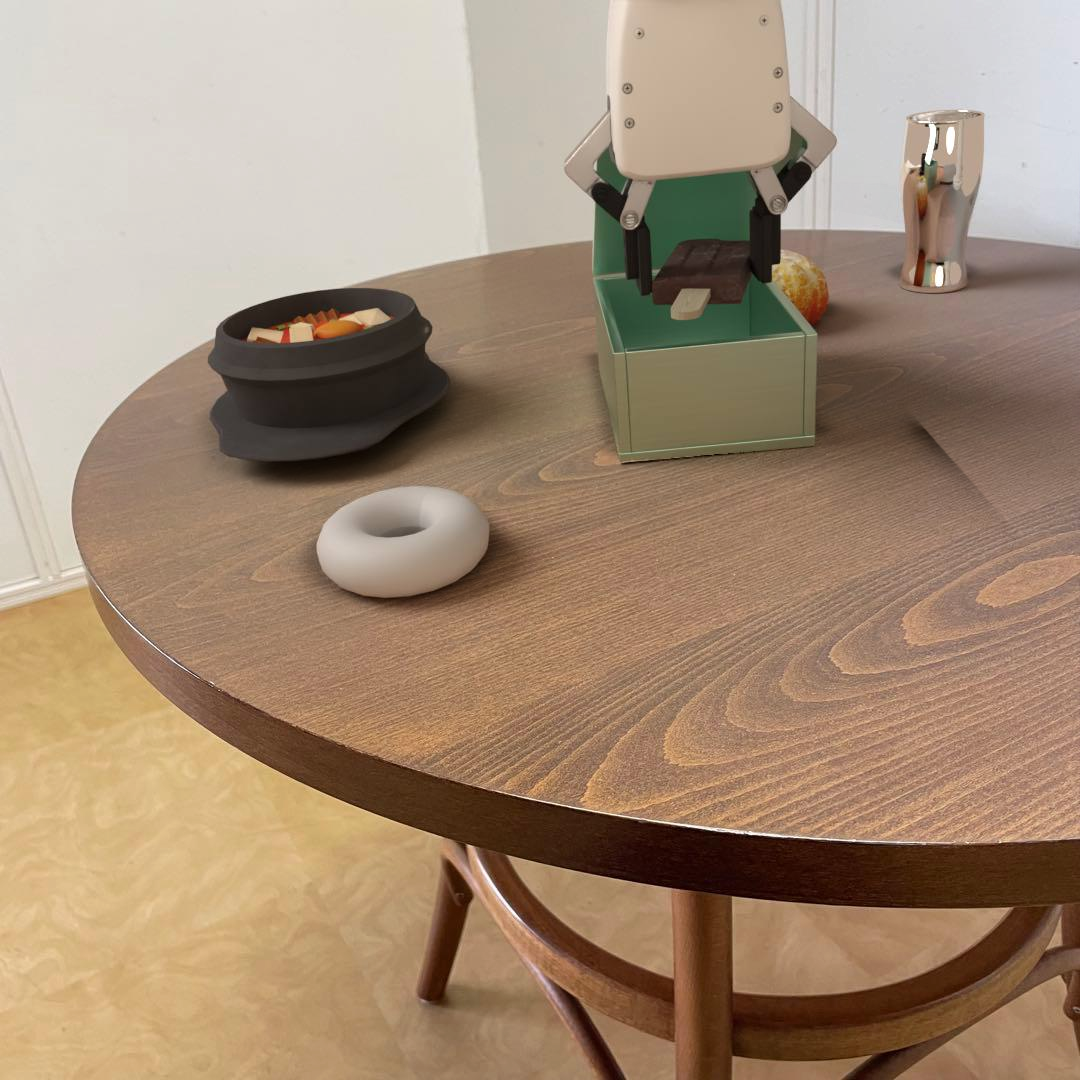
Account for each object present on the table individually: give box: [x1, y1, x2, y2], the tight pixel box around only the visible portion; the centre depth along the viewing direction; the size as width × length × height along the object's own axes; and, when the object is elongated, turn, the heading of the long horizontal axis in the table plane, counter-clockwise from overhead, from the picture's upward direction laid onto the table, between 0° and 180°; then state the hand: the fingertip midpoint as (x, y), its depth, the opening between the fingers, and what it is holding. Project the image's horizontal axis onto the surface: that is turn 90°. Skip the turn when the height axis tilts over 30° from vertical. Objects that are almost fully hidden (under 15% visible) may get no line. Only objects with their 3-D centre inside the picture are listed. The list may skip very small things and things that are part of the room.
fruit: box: [772, 249, 830, 327], centre depth 99 cm, size 11×10×8 cm
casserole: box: [207, 287, 451, 463], centre depth 86 cm, size 25×19×8 cm
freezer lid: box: [591, 129, 803, 277], centre depth 79 cm, size 20×13×5 cm
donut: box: [316, 485, 490, 599], centre depth 65 cm, size 10×4×10 cm
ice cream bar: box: [652, 239, 752, 320], centre depth 69 cm, size 5×2×15 cm
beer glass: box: [898, 109, 986, 294], centre depth 102 cm, size 7×7×15 cm
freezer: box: [592, 270, 819, 463], centre depth 82 cm, size 19×13×8 cm
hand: (702, 281), depth 69 cm, fingers closed on ice cream bar, 6 cm apart
